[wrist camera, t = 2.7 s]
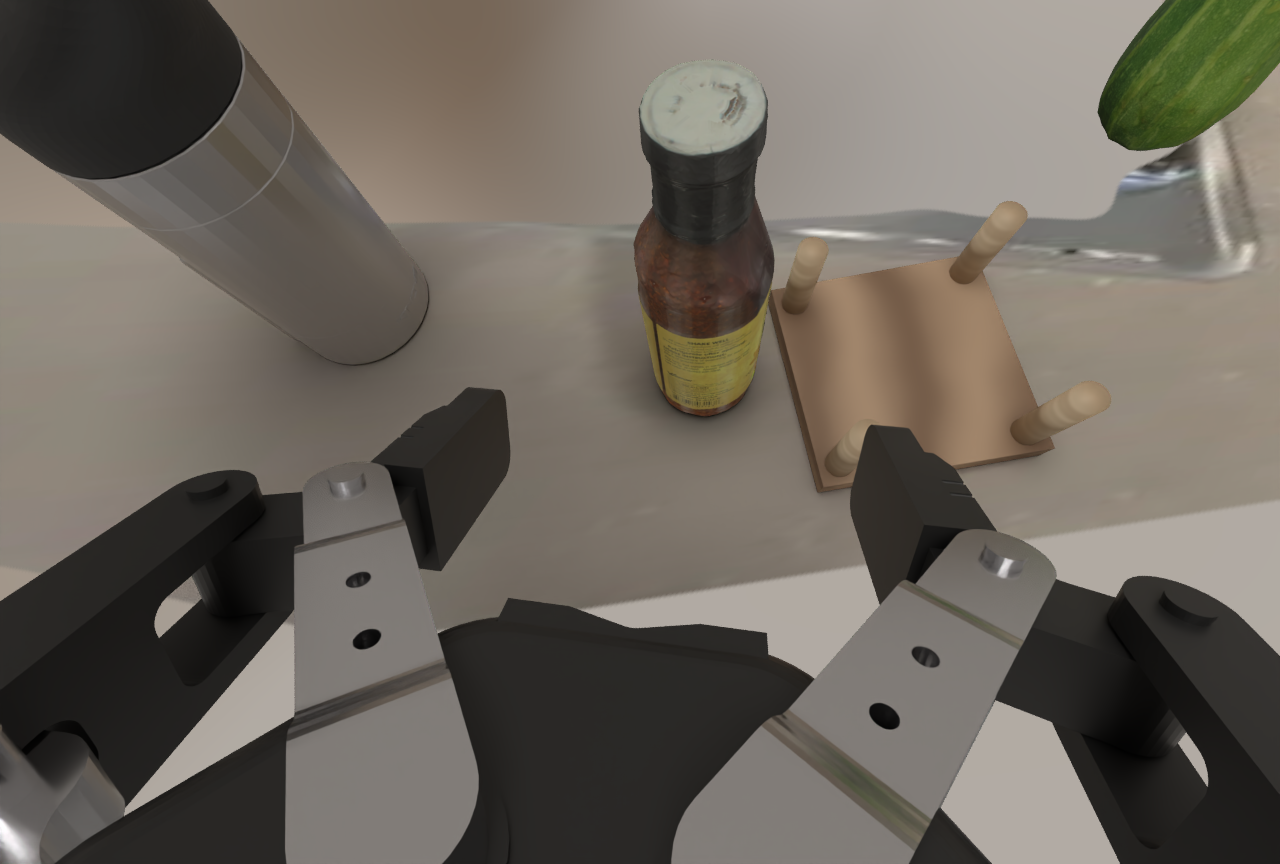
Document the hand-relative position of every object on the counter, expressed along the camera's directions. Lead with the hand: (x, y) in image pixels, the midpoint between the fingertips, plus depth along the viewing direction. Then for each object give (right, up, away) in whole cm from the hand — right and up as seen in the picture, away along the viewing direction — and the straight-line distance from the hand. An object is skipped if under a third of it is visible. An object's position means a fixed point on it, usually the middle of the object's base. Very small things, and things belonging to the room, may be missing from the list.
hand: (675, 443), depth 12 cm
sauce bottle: (+3, +4, +24) cm, 24 cm away
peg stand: (+15, +4, +22) cm, 27 cm away
